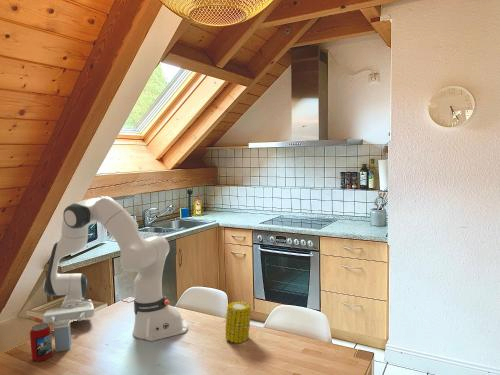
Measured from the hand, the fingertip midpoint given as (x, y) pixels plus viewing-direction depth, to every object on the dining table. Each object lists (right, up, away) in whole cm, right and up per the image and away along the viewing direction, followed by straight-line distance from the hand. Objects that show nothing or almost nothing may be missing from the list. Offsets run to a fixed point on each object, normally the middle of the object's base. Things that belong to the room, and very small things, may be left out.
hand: (67, 320), depth 168 cm
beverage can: (-1, -8, -18) cm, 20 cm away
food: (+72, -5, -8) cm, 72 cm away
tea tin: (+4, -7, -11) cm, 14 cm away
